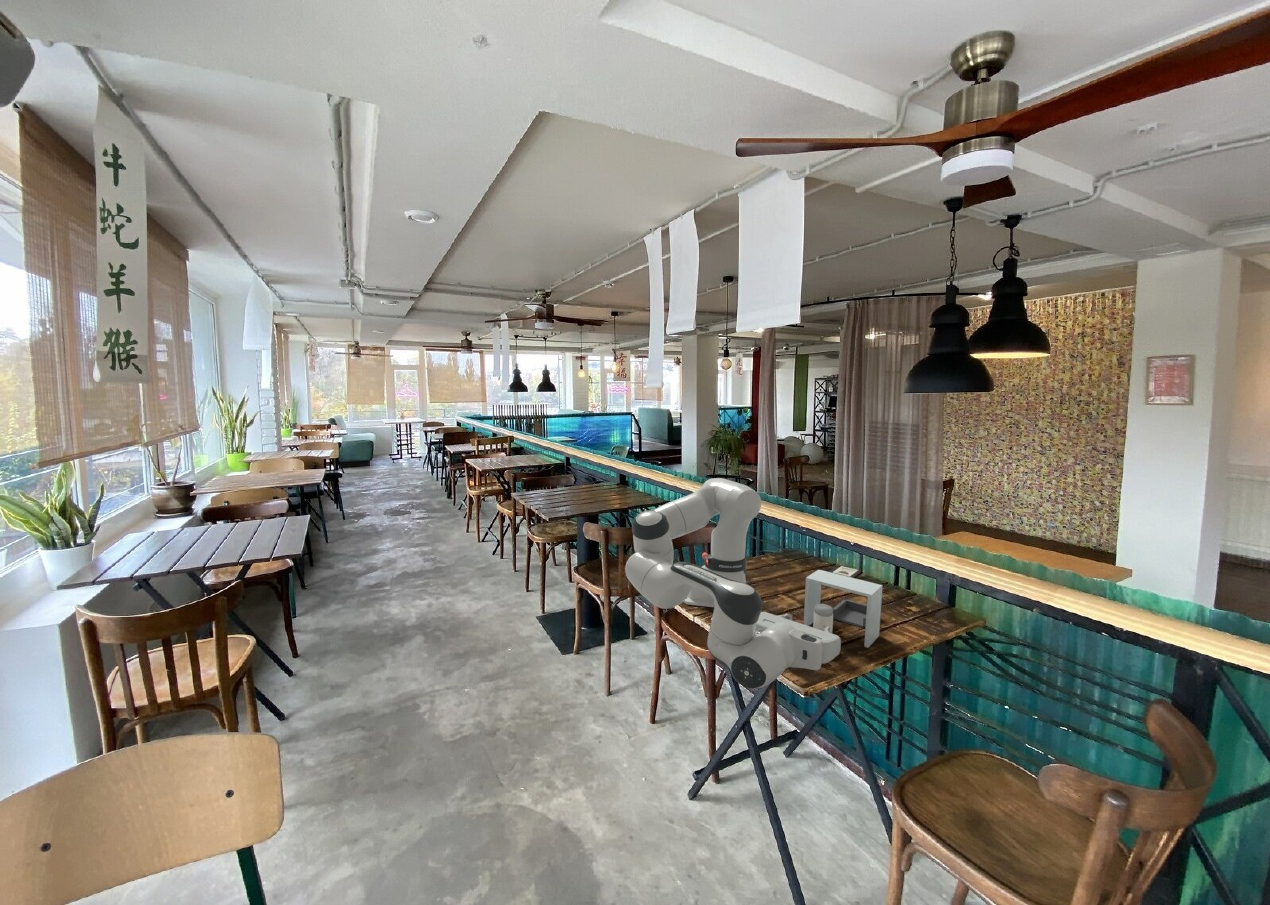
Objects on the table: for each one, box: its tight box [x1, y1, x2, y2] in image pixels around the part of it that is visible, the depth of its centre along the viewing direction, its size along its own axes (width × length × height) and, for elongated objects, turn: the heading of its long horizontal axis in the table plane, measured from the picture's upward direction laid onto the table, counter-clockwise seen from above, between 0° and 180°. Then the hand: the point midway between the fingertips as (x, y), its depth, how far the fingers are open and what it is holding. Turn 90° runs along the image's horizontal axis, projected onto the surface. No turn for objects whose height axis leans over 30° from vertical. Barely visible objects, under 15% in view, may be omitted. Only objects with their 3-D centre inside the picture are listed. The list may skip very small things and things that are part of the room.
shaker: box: [812, 603, 834, 634], centre depth 134 cm, size 5×5×11 cm
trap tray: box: [832, 598, 867, 629], centre depth 153 cm, size 10×10×3 cm
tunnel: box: [803, 569, 883, 648], centre depth 144 cm, size 9×18×15 cm, turn 48°
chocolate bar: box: [828, 565, 863, 579], centre depth 188 cm, size 9×1×18 cm
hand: (807, 622), depth 125 cm, fingers open, 8 cm apart
